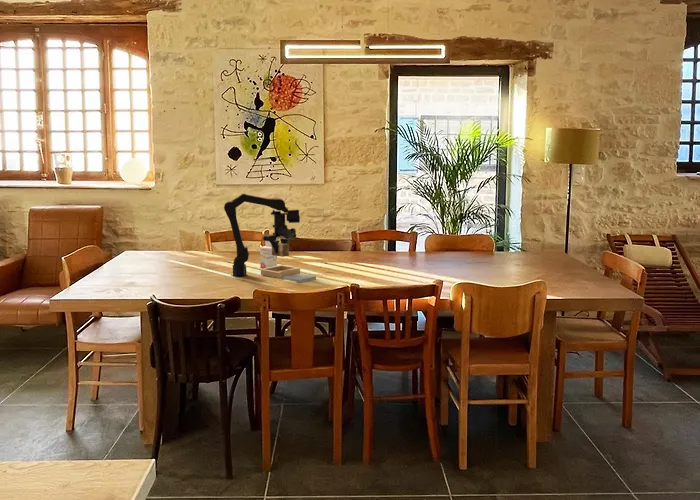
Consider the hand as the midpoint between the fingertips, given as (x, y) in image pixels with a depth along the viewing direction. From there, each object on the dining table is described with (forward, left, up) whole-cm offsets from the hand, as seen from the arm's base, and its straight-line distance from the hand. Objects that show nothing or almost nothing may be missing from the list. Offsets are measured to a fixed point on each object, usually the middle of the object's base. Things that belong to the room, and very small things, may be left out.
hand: (280, 252), depth 389 cm
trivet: (-1, -15, -12) cm, 19 cm away
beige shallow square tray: (0, 0, -12) cm, 12 cm away
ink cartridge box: (+10, +20, -12) cm, 25 cm away
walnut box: (0, 0, -1) cm, 1 cm away
